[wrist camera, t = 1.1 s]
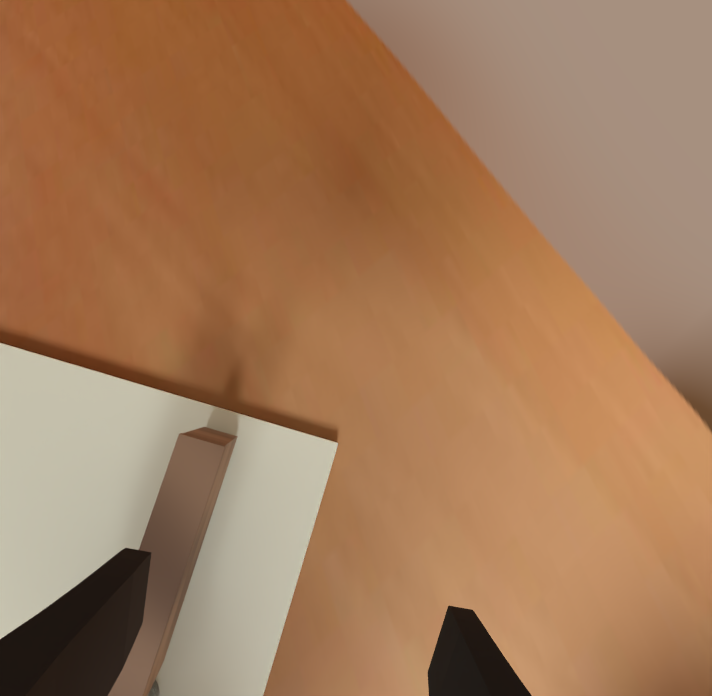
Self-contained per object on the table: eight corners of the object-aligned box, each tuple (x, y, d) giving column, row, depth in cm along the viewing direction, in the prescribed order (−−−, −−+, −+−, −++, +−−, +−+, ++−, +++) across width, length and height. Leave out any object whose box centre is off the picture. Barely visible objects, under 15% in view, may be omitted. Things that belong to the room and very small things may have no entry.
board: (220, 833, 22) (218, 844, 22) (-285, 728, 20) (-302, 738, 20) (337, 442, 25) (338, 443, 24) (-100, 312, 23) (-111, 310, 22)
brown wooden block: (164, 661, 22) (126, 744, 17) (126, 652, 22) (75, 732, 17) (238, 436, 23) (225, 446, 18) (203, 426, 23) (179, 433, 18)
